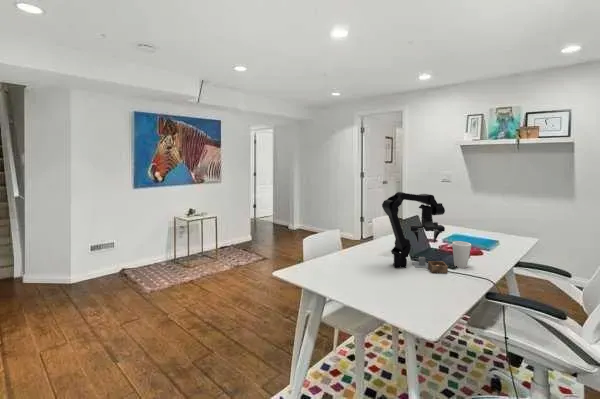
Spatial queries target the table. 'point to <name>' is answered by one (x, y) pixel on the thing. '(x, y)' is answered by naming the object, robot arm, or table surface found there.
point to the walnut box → (437, 267)
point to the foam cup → (461, 253)
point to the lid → (421, 263)
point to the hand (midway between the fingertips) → (425, 242)
